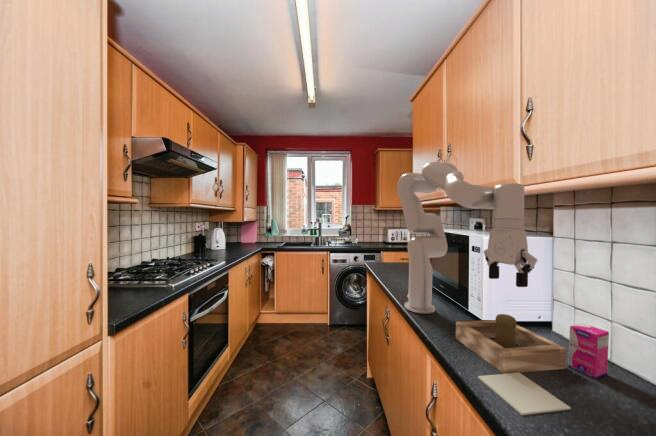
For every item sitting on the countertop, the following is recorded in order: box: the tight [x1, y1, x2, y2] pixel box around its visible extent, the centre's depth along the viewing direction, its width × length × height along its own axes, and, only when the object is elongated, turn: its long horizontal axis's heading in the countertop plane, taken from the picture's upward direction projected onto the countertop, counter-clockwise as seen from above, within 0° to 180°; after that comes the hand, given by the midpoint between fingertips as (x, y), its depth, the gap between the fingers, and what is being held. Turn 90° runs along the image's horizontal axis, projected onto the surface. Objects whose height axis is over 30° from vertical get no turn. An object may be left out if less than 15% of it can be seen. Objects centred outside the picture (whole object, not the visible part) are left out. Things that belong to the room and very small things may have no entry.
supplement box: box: [567, 322, 610, 380], centre depth 68 cm, size 6×6×12 cm
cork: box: [493, 313, 518, 348], centre depth 76 cm, size 6×6×11 cm
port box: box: [455, 319, 567, 374], centre depth 76 cm, size 19×19×6 cm
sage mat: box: [477, 372, 572, 416], centre depth 59 cm, size 12×12×1 cm
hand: (507, 282), depth 76 cm, fingers open, 9 cm apart
